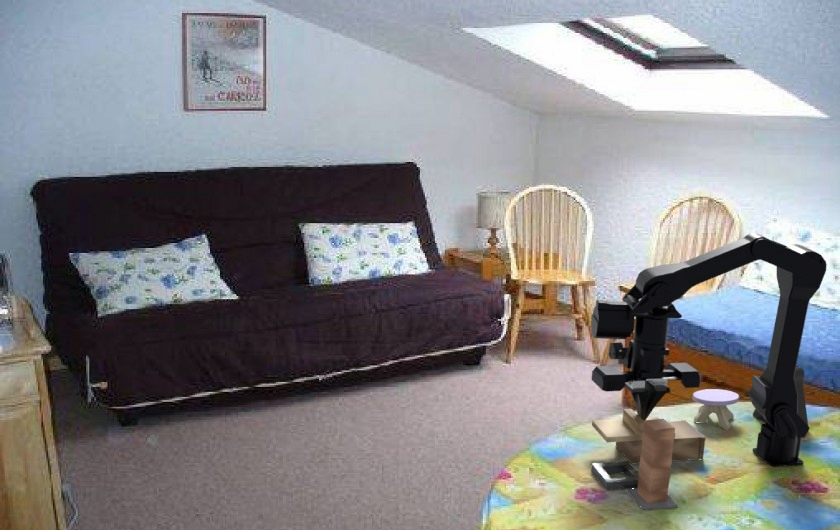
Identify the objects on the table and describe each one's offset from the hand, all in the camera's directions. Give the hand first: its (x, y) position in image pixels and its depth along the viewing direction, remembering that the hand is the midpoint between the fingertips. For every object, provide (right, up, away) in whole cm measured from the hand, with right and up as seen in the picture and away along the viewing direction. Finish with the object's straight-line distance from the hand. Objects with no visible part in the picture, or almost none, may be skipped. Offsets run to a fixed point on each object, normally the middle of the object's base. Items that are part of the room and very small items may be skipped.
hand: (641, 420), depth 143 cm
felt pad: (-2, -10, -14) cm, 18 cm away
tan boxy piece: (+3, -6, +2) cm, 7 cm away
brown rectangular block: (-2, -10, -14) cm, 18 cm away
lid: (-2, -2, 0) cm, 3 cm away
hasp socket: (-7, -9, -8) cm, 14 cm away
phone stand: (+33, -4, +16) cm, 37 cm away
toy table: (+19, -4, +17) cm, 26 cm away
